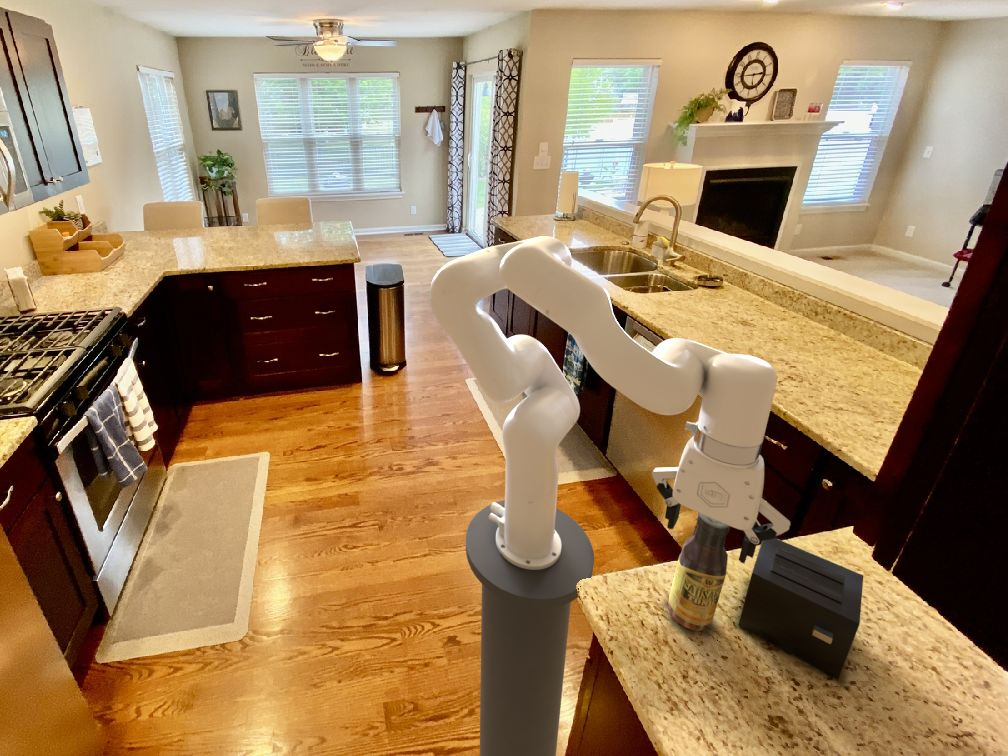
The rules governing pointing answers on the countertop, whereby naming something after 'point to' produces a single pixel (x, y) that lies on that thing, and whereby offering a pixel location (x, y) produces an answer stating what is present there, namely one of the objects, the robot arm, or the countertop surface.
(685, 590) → the sauce bottle
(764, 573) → the toaster
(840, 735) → the countertop surface
